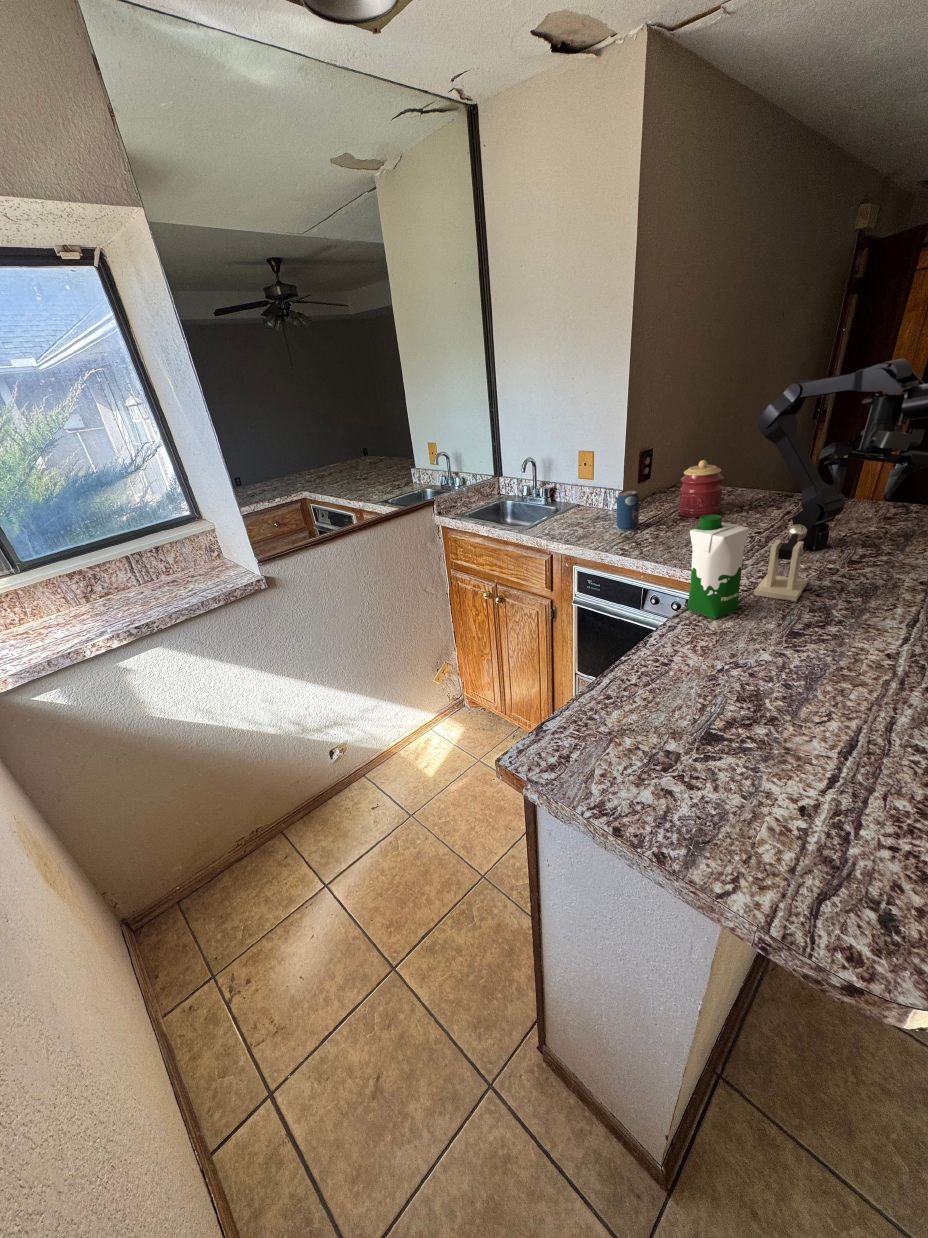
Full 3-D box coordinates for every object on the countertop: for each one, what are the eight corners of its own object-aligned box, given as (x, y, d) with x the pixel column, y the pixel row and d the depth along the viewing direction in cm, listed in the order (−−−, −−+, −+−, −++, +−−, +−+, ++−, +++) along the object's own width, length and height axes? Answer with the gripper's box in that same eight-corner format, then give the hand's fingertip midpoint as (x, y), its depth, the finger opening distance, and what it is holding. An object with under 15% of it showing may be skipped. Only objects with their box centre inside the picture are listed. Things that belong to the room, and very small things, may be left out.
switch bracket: (766, 579, 112) (772, 534, 108) (806, 584, 107) (815, 538, 102) (753, 595, 106) (759, 549, 101) (796, 601, 101) (804, 553, 96)
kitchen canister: (727, 514, 159) (733, 460, 152) (687, 520, 160) (691, 465, 152) (710, 505, 171) (714, 454, 163) (673, 510, 172) (675, 460, 164)
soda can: (638, 530, 158) (638, 494, 153) (616, 531, 160) (616, 495, 155) (638, 524, 163) (639, 489, 158) (617, 525, 166) (617, 490, 161)
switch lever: (789, 535, 111) (790, 520, 109) (807, 536, 108) (809, 522, 106) (774, 561, 104) (775, 546, 102) (793, 563, 102) (795, 548, 100)
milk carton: (708, 597, 108) (715, 510, 100) (745, 609, 101) (757, 516, 92) (680, 609, 105) (685, 520, 97) (717, 622, 98) (726, 528, 89)
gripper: (853, 406, 97) (832, 483, 99) (962, 416, 93) (937, 497, 95) (827, 423, 108) (808, 492, 110) (923, 432, 104) (902, 505, 106)
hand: (861, 496), depth 105 cm, fingers open, 9 cm apart
